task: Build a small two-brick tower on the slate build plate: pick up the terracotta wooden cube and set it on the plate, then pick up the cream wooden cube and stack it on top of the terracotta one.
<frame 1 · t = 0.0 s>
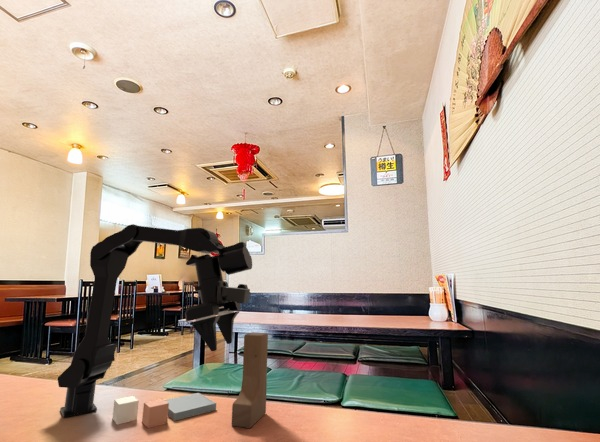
hand: (222, 347, 75), 15 cm above the table, tool pointing down, fingers open, 9 cm apart
wooden block: (249, 420, 73), on the table
terracotta brick: (154, 422, 71), on the table
cream brick: (124, 419, 72), on the table
build plate: (187, 408, 79), on the table
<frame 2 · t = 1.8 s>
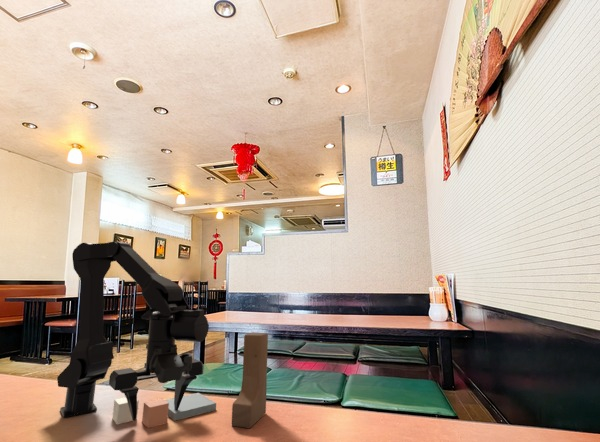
hand: (156, 414, 71), 1 cm above the table, tool pointing down, fingers open, 8 cm apart
nothing on the table moved.
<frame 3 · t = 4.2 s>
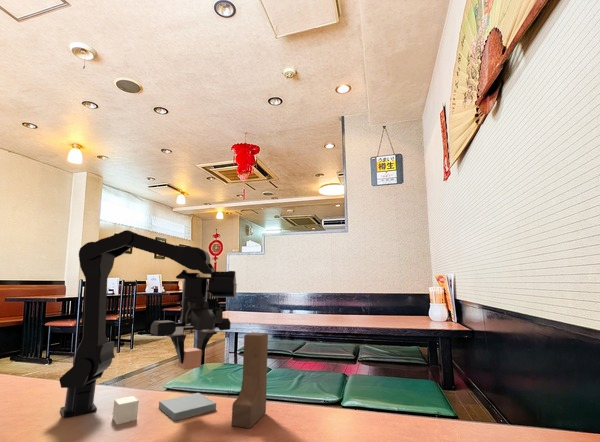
hand: (190, 362, 81), 11 cm above the table, tool pointing down, fingers closed on terracotta brick, 4 cm apart
terracotta brick: (189, 366, 81), point 9 cm above the table, touching gripper
everything else where it was.
when the fingers open (3 cm above the table, at t = 5.7 s): terracotta brick stays where it is, resting on build plate.
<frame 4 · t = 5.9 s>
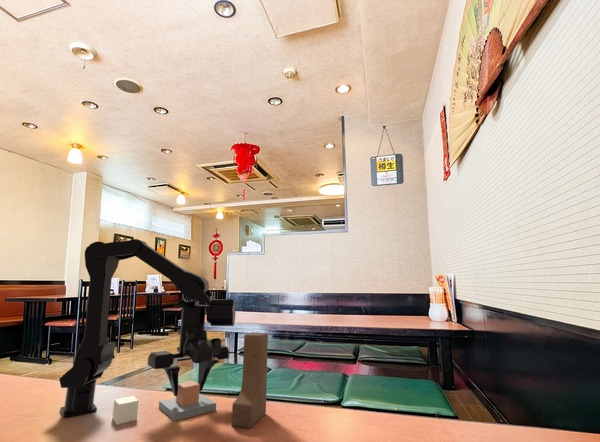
hand: (188, 393, 79), 3 cm above the table, tool pointing down, fingers open, 6 cm apart
terracotta brick: (187, 401, 79), point 1 cm above the table, touching build plate
everything else where it was.
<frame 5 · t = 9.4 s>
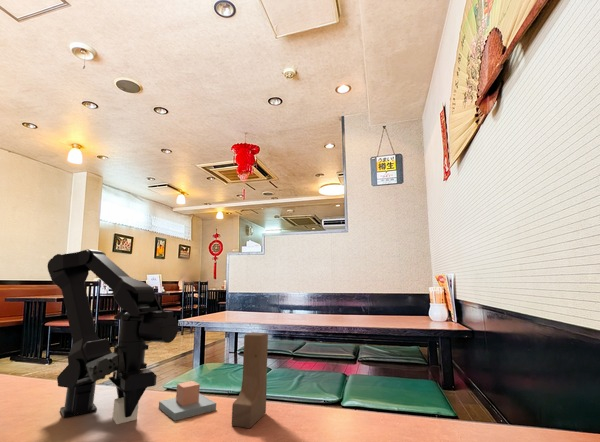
hand: (125, 413, 73), 1 cm above the table, tool pointing down, fingers closed on cream brick, 4 cm apart
cream brick: (124, 419, 73), on the table, touching gripper
everything else where it was.
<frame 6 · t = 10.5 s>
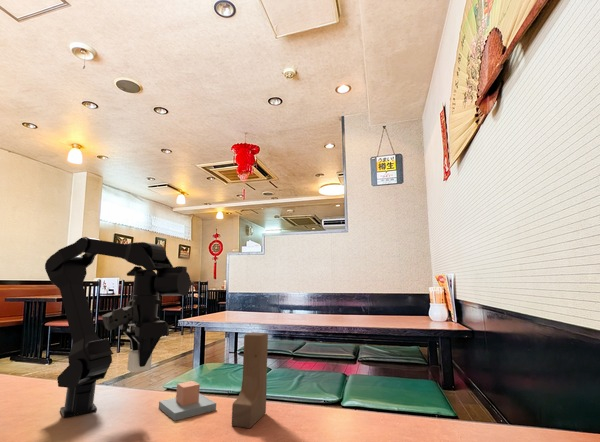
hand: (139, 364, 75), 11 cm above the table, tool pointing down, fingers closed on cream brick, 4 cm apart
cream brick: (138, 369, 75), point 10 cm above the table, touching gripper
everything else where it was.
when the fingers open (7 cm above the table, at t = 12.1 s): cream brick stays where it is, resting on terracotta brick.
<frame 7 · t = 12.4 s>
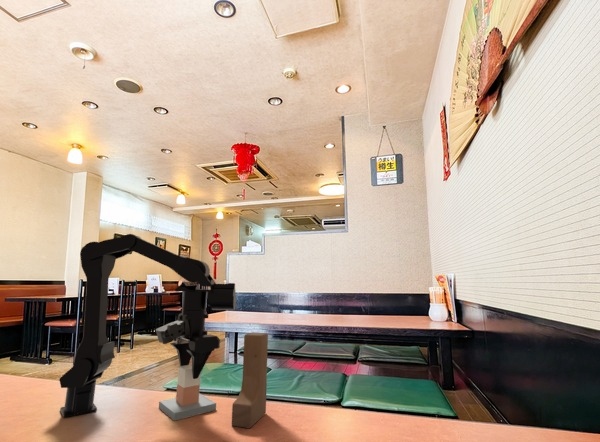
hand: (189, 375, 80), 7 cm above the table, tool pointing down, fingers open, 7 cm apart
terracotta brick: (187, 401, 79), point 1 cm above the table, touching build plate, cream brick
cream brick: (188, 384, 80), point 5 cm above the table, touching terracotta brick
everything else where it was.
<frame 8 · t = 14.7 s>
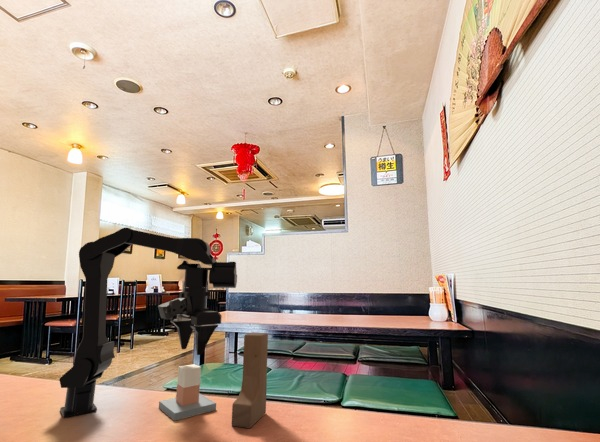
hand: (191, 351, 81), 13 cm above the table, tool pointing down, fingers open, 9 cm apart
nothing on the table moved.
at the end: terracotta brick 0.2 cm off-centre on the build plate, point 1.5 cm above the build plate's base; cream brick 0.2 cm off-centre on the terracotta brick, point 4.0 cm above the terracotta brick's base; cream brick tilted 0° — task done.
